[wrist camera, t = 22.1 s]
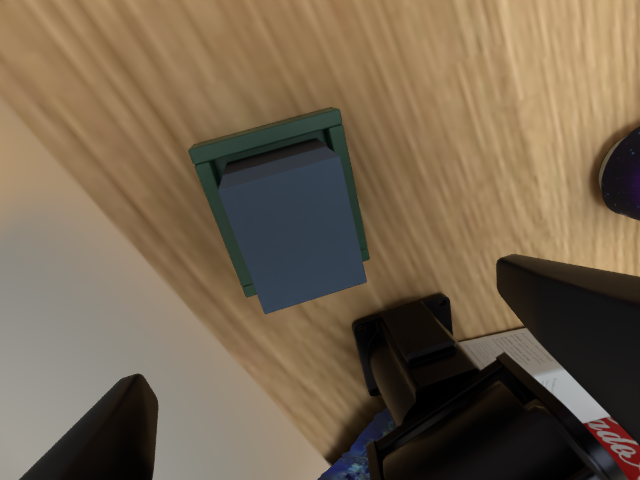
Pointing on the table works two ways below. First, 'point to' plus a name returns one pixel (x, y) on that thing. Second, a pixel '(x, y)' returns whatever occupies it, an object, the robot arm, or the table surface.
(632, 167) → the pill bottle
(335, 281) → the blue pad
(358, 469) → the blue patterned cloth
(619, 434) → the soda can
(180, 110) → the table surface
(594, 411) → the cosmetic box
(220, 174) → the frame
